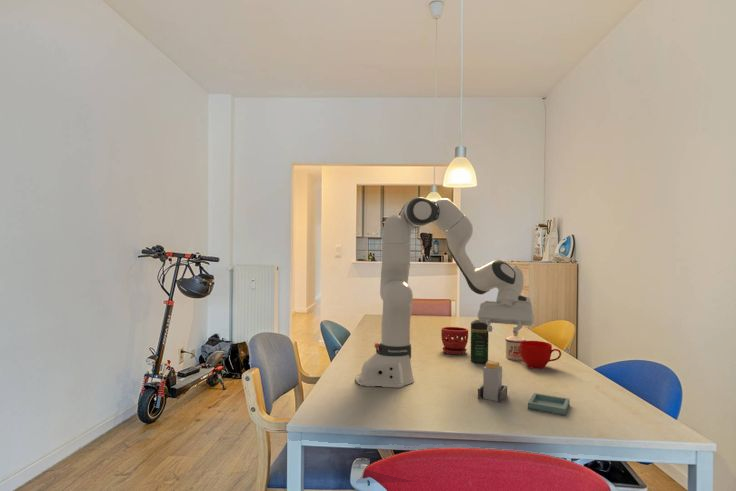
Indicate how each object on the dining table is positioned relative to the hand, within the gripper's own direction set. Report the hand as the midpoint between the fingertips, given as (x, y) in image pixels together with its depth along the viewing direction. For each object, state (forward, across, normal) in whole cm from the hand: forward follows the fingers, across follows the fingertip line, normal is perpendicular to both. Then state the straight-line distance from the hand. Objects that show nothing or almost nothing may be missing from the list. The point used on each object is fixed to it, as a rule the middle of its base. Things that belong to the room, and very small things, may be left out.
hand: (502, 331), depth 161 cm
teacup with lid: (-19, -4, +49) cm, 53 cm away
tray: (+24, +18, +6) cm, 30 cm away
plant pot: (-16, -34, +46) cm, 60 cm away
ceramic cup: (-11, +7, +41) cm, 43 cm away
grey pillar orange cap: (+24, 0, +5) cm, 24 cm away
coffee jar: (-9, -19, +39) cm, 44 cm away
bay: (+24, 0, +5) cm, 24 cm away
